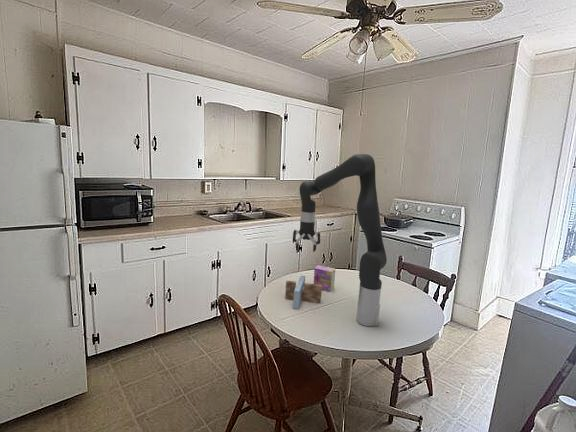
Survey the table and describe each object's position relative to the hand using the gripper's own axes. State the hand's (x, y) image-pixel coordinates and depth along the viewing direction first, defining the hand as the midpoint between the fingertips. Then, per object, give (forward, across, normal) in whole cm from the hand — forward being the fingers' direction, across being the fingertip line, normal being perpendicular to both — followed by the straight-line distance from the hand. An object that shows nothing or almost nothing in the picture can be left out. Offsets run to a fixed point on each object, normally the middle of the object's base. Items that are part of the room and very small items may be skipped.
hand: (305, 250), depth 163 cm
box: (+24, +10, +9) cm, 27 cm away
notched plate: (+23, -1, -9) cm, 25 cm away
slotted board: (+23, +1, -9) cm, 25 cm away
